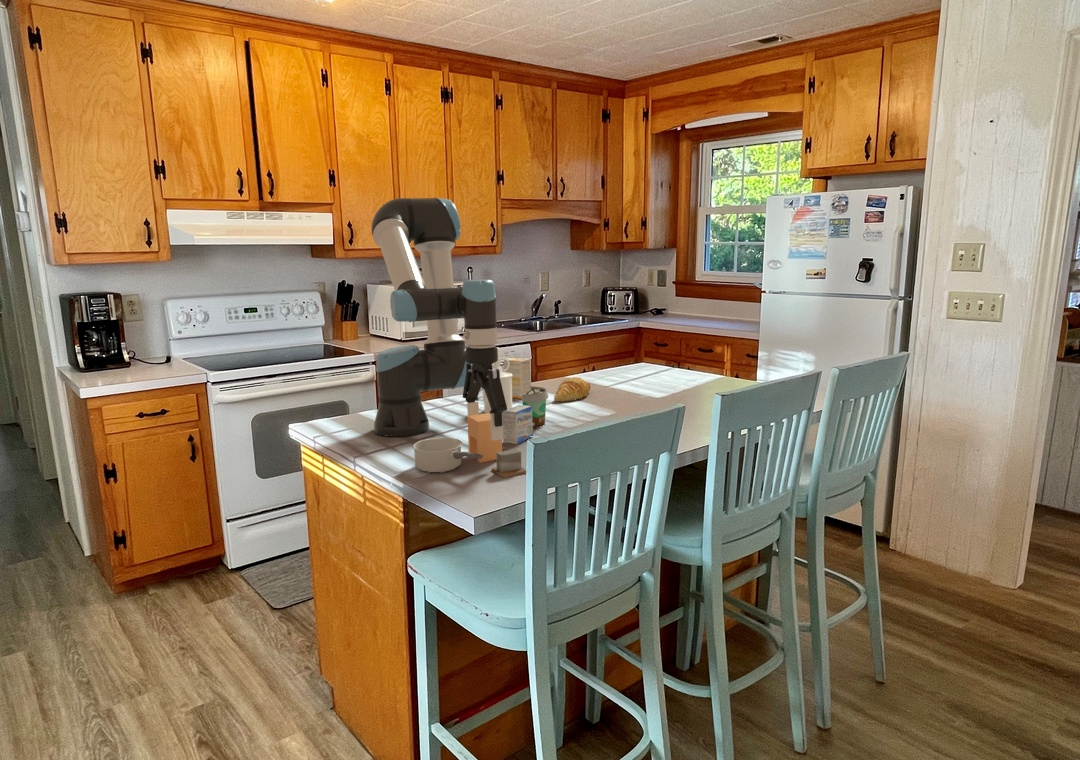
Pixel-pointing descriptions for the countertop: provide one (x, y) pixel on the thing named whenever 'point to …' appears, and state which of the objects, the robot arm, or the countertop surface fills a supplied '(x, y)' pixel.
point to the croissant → (572, 389)
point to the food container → (536, 404)
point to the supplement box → (519, 375)
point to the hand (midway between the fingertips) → (485, 433)
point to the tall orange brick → (482, 437)
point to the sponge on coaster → (509, 463)
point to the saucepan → (439, 454)
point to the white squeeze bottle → (505, 382)
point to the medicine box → (517, 424)
